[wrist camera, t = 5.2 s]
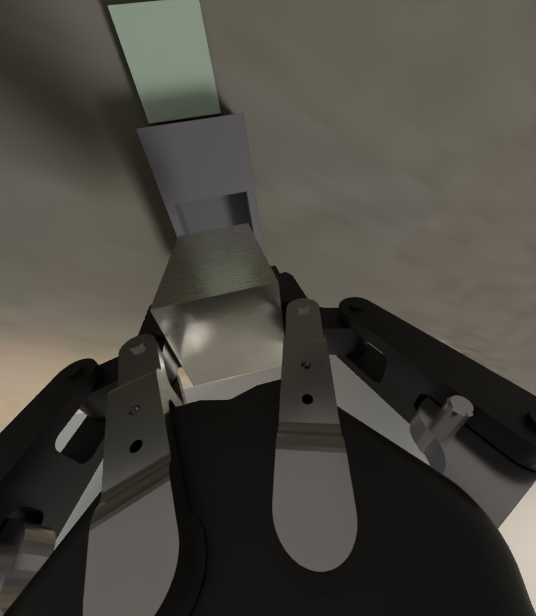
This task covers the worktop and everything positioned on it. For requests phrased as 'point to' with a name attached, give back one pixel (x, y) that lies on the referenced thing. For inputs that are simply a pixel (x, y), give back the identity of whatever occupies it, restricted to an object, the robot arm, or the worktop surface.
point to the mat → (168, 58)
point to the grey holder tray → (203, 173)
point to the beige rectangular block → (220, 305)
